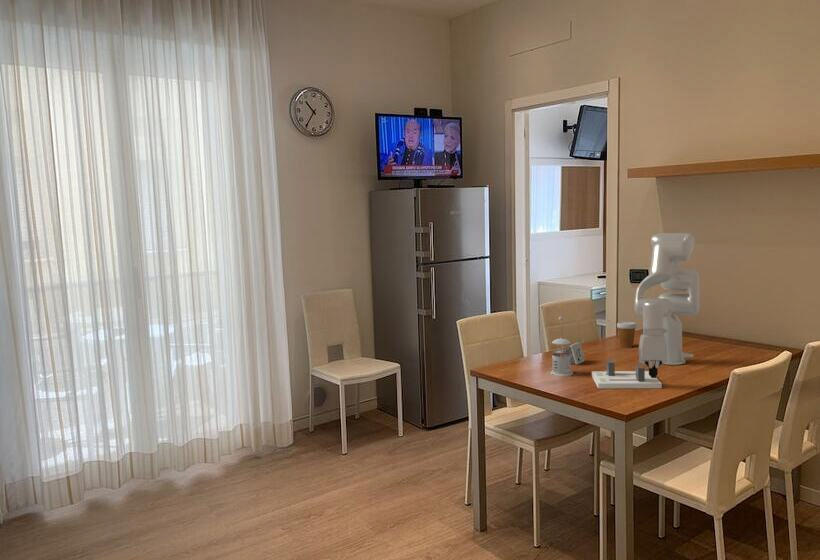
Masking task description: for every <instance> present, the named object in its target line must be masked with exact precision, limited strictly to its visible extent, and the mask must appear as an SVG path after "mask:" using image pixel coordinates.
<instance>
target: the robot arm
mask: <svg viewBox="0 0 820 560" xmlns="http://www.w3.org/2000/svg"><path fill="white" fill-rule="evenodd" d="M650 243H651V247H652V252H651V259H650V268H649V274H648V275H647V276H646V277H644V279H642V281H640V283H639V284H638V286H637V288H636V290H635V296H634V303H633V305H634V306H633V309H634V312H635V314H636V315H638V316H640V317H641V316H642V334H640V337H639V344H638V358H639V359H638V363H640V364H642V365H646V366H647V367H648V371H649V376H650V377H651V378H657V376H658V369H659V368H660V366H661V365H667V366H668V365H670V366H675V365H676V366H678V365H684V364H686V363H687V362H686V359H694V353H684V351H683V325H682V323H683V322H682V321H681V320H680V318H679V317H678V316H677V315H683V316H684V315H686V316H693V315H697V314H698V313H699V311H700V308H701V307H700V306H701V305H700V302H701V299H700V297H701V296H700V277H699V272H698V271H696V270H695V269H690V268H689V269H688V268H686V269H684V268H683V269H682V268H681V262H686V261H688V260H689V259H690V257H691V255H692V253H693V251H694V248H695V243H696V242H695V238H694V235H693V234H691V233H690V232H677V233H676V232H664V233H663V232H662V233H656V234H654V235H652V236H651V238H650ZM658 285H660V287H661V289H663V290H665V291H676V292H665V293H664V292H663V293H661V294H659V296H658V297H644V295H645V294H646V292H647V291H648V290H650V289H651V288H653V287H655V286H658ZM677 291H678V292H677ZM680 291H681V292H680ZM686 292H687V293H686ZM652 361H653V363H652Z"/></svg>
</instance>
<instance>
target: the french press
mask: <svg viewBox="0 0 820 560" xmlns="http://www.w3.org/2000/svg"><path fill="white" fill-rule="evenodd" d="M563 319H564V317H562V316H559V317H558V320H559V321H562V320H563ZM551 344H553V345H555V346H558V349H554V350H553V351H552V353H553V354H552V355H551V357H552V359H551V360H552V362H551V363H552V364H551V365H552V371H550V374H551V375H552V374H553V375H552V376H556V375H557V376H558V377H566V376H567V377H568V376H572V375H574V372H573V371H572V364H571V355H570V354H571V353H570V354H568V353H569V352H570V351H569V350H566V349H564V346H568V345H569V346H570V345H571V341H570V340H568V339H566V338H562V337H560V338H557V339H554V340H553V341H551ZM557 376H556V377H557Z"/></svg>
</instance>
